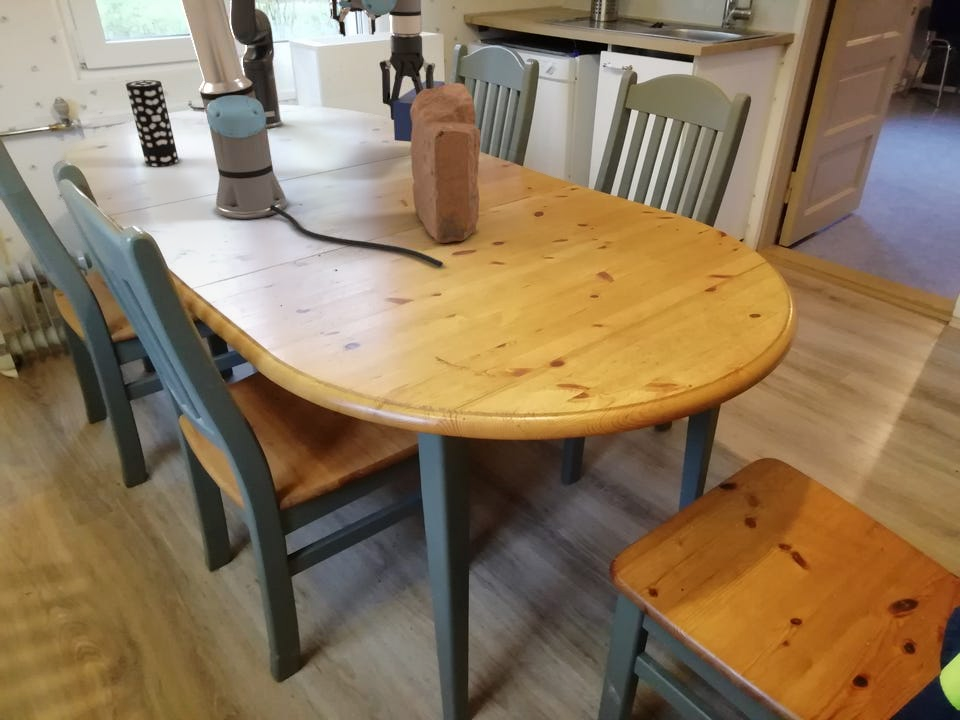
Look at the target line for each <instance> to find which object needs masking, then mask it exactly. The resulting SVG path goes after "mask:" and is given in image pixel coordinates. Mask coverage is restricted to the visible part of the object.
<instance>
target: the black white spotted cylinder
mask: <svg viewBox="0 0 960 720" xmlns="http://www.w3.org/2000/svg"><path fill="white" fill-rule="evenodd" d="M125 87H126V91H127V95H128V99H129V103H130V107H131V110H132V115H133V118H134V122H135V123H134V124H135V127H136V130H137V134H138V139H139V143H140V146H141V150H142V155H143V158H144V163H145V164H146V165H147V166H151V167H164V166H170V165H174V164H176V163H178V162H179V155H178V150H177V146H176V142H175V137H174V133H173V128H172V125H171V121H170V116H169V111H168V107H167V103H166V98H165V93H164V89H163V84H162V81H161V80H155V79H154V80H153V79H151V80H150V79H145V80H144V79H141V80H134V81H130V82H129V81H128V82H127V83H126V84H125Z"/></svg>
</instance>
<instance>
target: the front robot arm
mask: <svg viewBox="0 0 960 720" xmlns="http://www.w3.org/2000/svg"><path fill="white" fill-rule="evenodd" d="M337 2H338V4H337V5H339V7H346V8H361V9H363V10H365V11H367V12H369V13H370V14H373V15H376V16H379V15H381V16H385V15H388V14H389V33H391V34H392V35H391V36H390V37H389V39H390V52H391V53H390V57H389V59H384V60H382V61H380V62H379V67H380V71H381V85H382V87H381V91H382V93H381V94H382V103H383V105H387V106H388V107H389V108H390V119H391V121H394V115H393V102H394V101H395V100H397V99H398V98H400V94H401V88H402V84H403V79H404V78H405V77H407V78H411V81H412V84H413V88H415V90H416V94H417V95H418V93H419V92H420V91H422V90H423V86H422V83H423V81H422V80H421V79H422V77H421V73H420V71H421V69H422V68H423V70H424V72H425V81H426V89H432V88H434V82H433V81H434V72H435V68H436V64H435V63H434V62H428V61H426V60H425V58H424V56H423V37H422V35H420V34H422V33H423V20H422V19H423V18H422V0H337ZM180 3H181V5H182V9H183V13H184V16H185V19H186V20H185V21H186V24H187V27H188V30H189V33H190V37H191V40H192V41H191V42H192V44H193V47H194V51H195V55H196V58H197V62H198V65H199V68H200V69H199V70H200V72H201V75H202V79H203V82H202V84H201V85H200V88H199V95H200V97H201V101H202V104H203V107H204V108H205V110H204V111H205V114H206V120H207V124H208V126H209V130H210V135H211V141H212V147H213V151H214V156H215V161H216V167H217V169H218V170H217V172H218V185H217V193H216V201H215V206H216V210H217V213H218V214H219V215H221V216H223V217H225V218H229V219H236V220H253V219H260V218H261V219H262V218H265V217H266V218H267V217H270V216H274V215H276V214H278V215H280V216H282V217H283V218H284V219H286V220H288V222H291V224H292V225H293V226H294V227H295V229H296V230H297V231H298V232H300V233H301V234H303V235H306V236H309V237H311V238H315V239H319V240H323V241H328V242H331V243H332V242H333V243H337V244H345V245H351V246H357V247H358V246H359V247H366V248H373V249H379V250H385V251H392V252H398V253H402V254H406V255H410V256H414V257H416V258H419V259H422V260H424V261H426V262H429V263H431V264H433V265H435V266H438V267H442V266H443V264H444V262H443V261H441V260H438V259H436V258H433V257H432V256H430V255H427V254H425V253H423V252H419V251H416V250H413V249H409V248H405V247H402V246H401V247H400V246H397V245H396V246H395V245H390V244H382V243H376V242H371V241H364V240H363V241H362V240H355V239H348V238H340V237H335V236H331V235H326V234H322V233H321V234H320V233H318V232H317V233H316V232H314V231H310V230H308V229H305V228H304V227H302V226H301V225H300V224H299V223H298V221H297V220H296V219H295V218H294V217H293V216H292V215H290V214H288V213H287V212H285V211H284V210H285V209H286V207H287V199H286V194H285V193H284V191H283V189H282V187H281V184H280V182H279V180H278V179H277V177H276V175H275V172H274V167H273V160H272V154H271V148H270V142H269V141H270V140H269V135H268V128H267V127H266V115H265V112H264V109H263V106H262V104H261V103H260V102H259V101H258V100H257V99H256V97H255V93H254V89H253V85H252V82H251V81H250V80H249V79H247V78H246V77H244V75H243V69H242V64H241V60H240V58H239V54H238V50H237V46H236V42H235V37H234V36H233V34H232V30H231V26H230V17H229V15H228V10H227V6H226V3H225V0H180ZM391 68H393V69H394V71H395V74H394V82H393V86H392V91H391V70H390V69H391Z"/></svg>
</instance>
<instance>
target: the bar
mask: <svg viewBox="0 0 960 720" xmlns="http://www.w3.org/2000/svg"><path fill="white" fill-rule="evenodd" d="M433 82H434V88H435V87H437V86H441V85H445V84H446V83H445V81H442V80H433ZM422 86H423V90H424V89H426V80H424V81H422ZM416 96H417V94H416V90H415V87H413V88H412V89H410V90H409V91H407V92H406V93H405V94H403V95H401V96H399V98H398V99H397V100H395V101H394V102H393V115H394V120H393V128H394V129H393V135H394V141H399V142H410V143H411V133H412V120H411V116H410V109H411V106H412V104H413V102H414V100H415V98H416Z"/></svg>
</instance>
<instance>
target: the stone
mask: <svg viewBox="0 0 960 720" xmlns="http://www.w3.org/2000/svg"><path fill="white" fill-rule="evenodd" d="M410 116H411V120H412V133H411V142H410V162H411V174H412V179H413V185H412V193H413V195H412V196H413V205H414V209H415V212H416V214H417V215H418V217H419V219H420V221H421V223H422V224H423V225H424V227H425V230H426V231H427V232H428V234H429V235H430V237H432V238H434V240H435V242H437V243H439V244H447V243H451V242H462V241H464V240H467V239H468V238H469V237H470V235H472V234H474V233H475V232H476V229H477V224H478V221H479V218H480V217H479V216H480V215H479V207H480V192H479V185H478V174H479V164H480V162H479V160H480V159H479V158H480V150H481V139H482V138H481V129H478V127H477V125H476V107H475V103H474V98H473V95H472V93H470V92H469V91H468V88H467V87H466V86H465V84H464V83H460V82H455V83H445V85H441V86H437V87H435V88H432V89H424V90H422V91H420V92H419V93H418V95H417V96H416V98H415V100H414V102H413V104H412V106H411V109H410Z"/></svg>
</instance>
